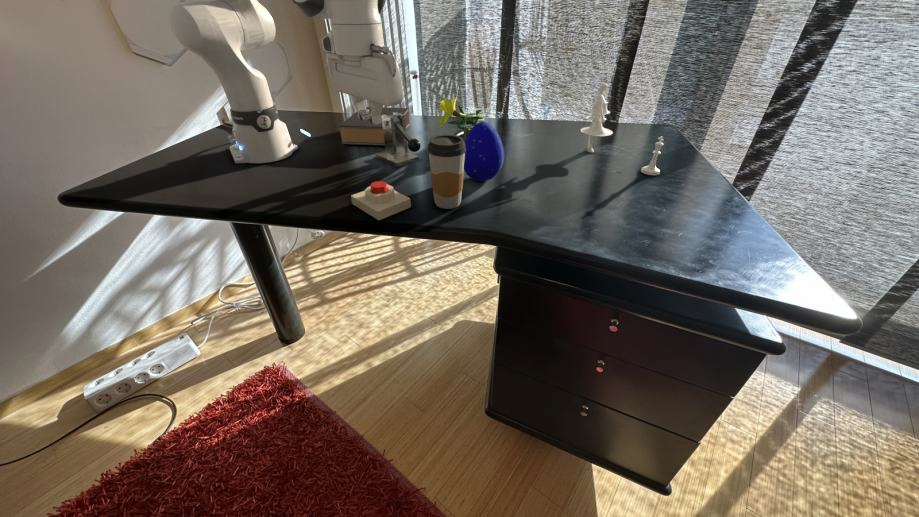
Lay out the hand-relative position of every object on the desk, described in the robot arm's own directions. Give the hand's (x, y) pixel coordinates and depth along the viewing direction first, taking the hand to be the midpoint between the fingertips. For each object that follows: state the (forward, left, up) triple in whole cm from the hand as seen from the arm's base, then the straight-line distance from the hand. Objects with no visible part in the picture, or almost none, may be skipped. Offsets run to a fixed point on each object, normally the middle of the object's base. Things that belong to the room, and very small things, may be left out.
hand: (369, 121), depth 73 cm
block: (0, 0, -19) cm, 19 cm away
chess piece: (+36, +66, -19) cm, 78 cm away
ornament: (+6, +28, -19) cm, 35 cm away
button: (0, 0, -16) cm, 16 cm away
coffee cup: (+10, +12, -19) cm, 25 cm away
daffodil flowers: (-18, +47, -19) cm, 54 cm away
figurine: (+16, +70, -19) cm, 74 cm away
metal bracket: (-22, +21, -19) cm, 36 cm away
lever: (-18, +21, -12) cm, 30 cm away
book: (-45, +30, -19) cm, 57 cm away
